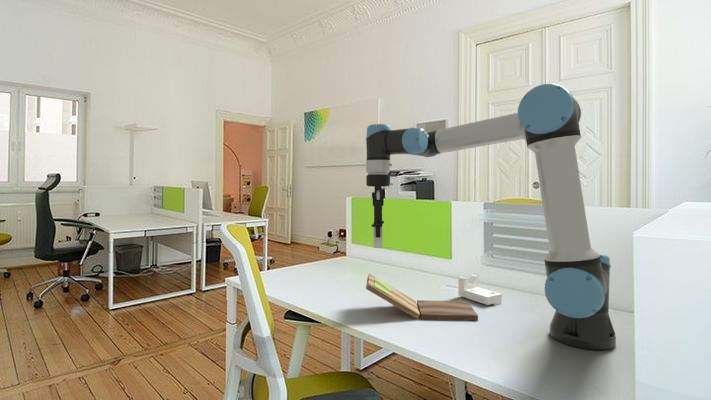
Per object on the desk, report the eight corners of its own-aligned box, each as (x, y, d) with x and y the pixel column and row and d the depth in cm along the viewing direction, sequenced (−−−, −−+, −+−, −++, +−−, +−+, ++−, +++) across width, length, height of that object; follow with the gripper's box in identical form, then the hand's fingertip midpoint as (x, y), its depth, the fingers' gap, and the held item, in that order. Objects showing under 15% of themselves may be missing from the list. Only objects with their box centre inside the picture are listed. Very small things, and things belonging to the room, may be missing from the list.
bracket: (458, 297, 140) (458, 277, 140) (472, 294, 144) (472, 274, 144) (487, 307, 129) (487, 285, 129) (501, 304, 133) (501, 282, 132)
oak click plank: (417, 319, 117) (420, 314, 117) (365, 288, 118) (368, 284, 118) (413, 304, 131) (415, 300, 131) (367, 277, 132) (369, 273, 132)
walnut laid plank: (477, 320, 116) (478, 315, 116) (421, 319, 117) (421, 314, 117) (467, 305, 130) (467, 301, 130) (416, 304, 131) (416, 300, 131)
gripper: (391, 173, 113) (390, 251, 114) (389, 174, 133) (388, 240, 134) (365, 173, 113) (365, 251, 114) (367, 174, 134) (367, 240, 135)
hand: (377, 245), depth 124 cm, fingers open, 8 cm apart
